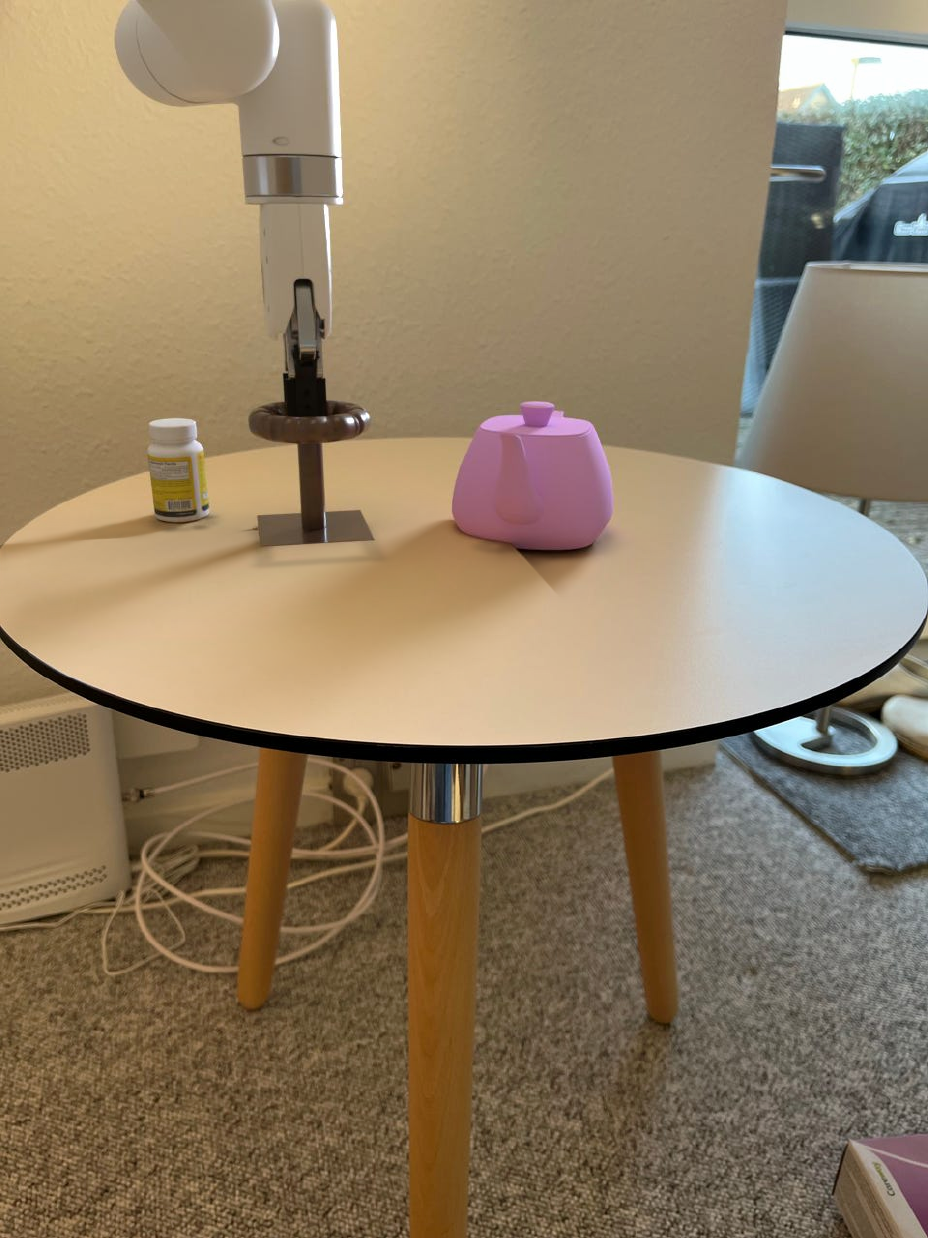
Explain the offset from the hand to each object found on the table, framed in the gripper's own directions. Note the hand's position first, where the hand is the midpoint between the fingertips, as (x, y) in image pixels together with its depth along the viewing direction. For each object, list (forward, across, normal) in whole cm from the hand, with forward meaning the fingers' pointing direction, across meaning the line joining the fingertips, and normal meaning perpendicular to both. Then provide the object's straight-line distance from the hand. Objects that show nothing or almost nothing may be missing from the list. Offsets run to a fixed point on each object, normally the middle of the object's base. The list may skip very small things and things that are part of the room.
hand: (306, 422), depth 82 cm
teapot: (+9, +7, +18) cm, 21 cm away
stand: (+9, +4, 0) cm, 10 cm away
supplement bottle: (+9, -5, -11) cm, 15 cm away
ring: (-1, +4, 0) cm, 4 cm away
